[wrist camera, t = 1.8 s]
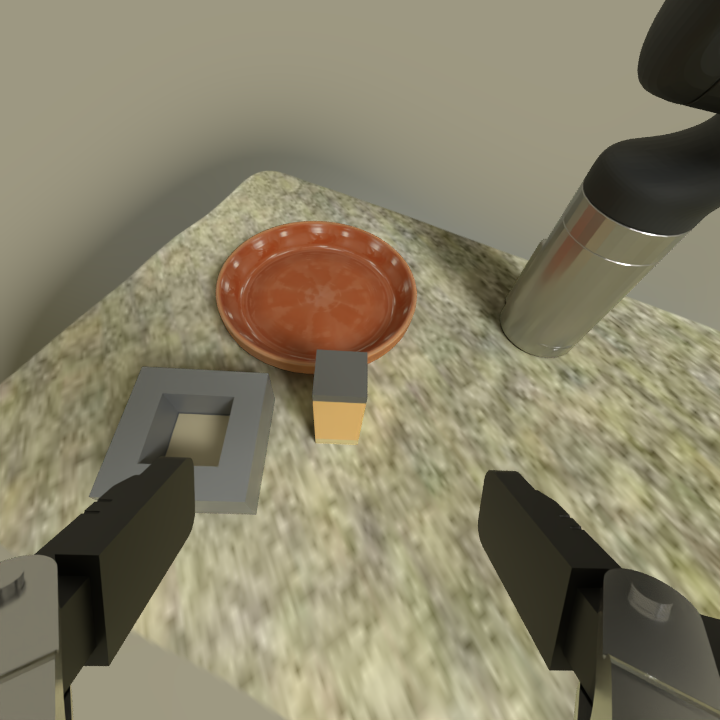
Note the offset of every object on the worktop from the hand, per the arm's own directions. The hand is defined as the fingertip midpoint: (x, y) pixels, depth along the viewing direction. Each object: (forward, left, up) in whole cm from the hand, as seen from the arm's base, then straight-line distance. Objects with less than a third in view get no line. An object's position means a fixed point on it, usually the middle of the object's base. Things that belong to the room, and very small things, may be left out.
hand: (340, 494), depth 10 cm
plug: (-12, 0, -23) cm, 26 cm away
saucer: (-28, -3, -23) cm, 36 cm away
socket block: (-9, -12, -23) cm, 27 cm away
